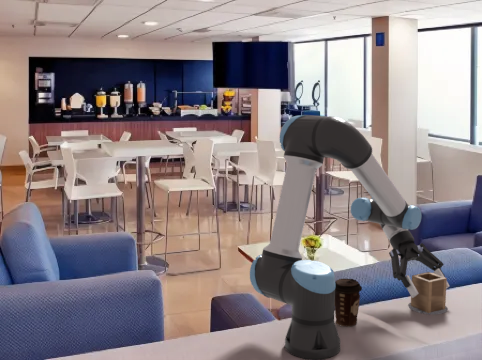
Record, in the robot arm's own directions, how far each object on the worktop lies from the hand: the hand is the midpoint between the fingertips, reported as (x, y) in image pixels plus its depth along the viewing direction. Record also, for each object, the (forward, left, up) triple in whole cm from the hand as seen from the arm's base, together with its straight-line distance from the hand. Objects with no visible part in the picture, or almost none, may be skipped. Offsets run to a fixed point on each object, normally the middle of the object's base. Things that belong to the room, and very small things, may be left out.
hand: (431, 292), depth 189 cm
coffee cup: (-18, -23, -7) cm, 30 cm away
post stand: (-1, 0, -7) cm, 7 cm away
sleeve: (-1, 0, -5) cm, 5 cm away
